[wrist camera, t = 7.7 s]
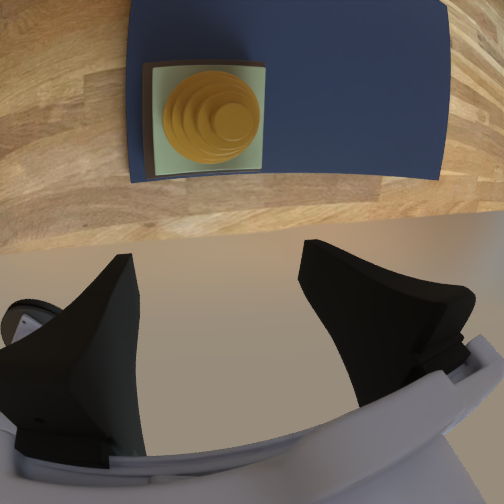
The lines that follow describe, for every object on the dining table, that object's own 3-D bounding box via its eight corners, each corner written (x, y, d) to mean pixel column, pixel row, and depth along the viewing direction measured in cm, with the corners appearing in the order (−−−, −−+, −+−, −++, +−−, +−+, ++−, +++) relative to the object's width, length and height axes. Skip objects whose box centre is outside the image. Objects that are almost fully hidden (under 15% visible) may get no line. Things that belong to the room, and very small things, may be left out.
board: (132, 180, 18) (130, 183, 17) (148, -71, 7) (147, -77, 6) (432, 177, 26) (438, 180, 25) (440, 6, 15) (446, 6, 14)
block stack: (149, 170, 17) (142, 191, 13) (146, 69, 14) (137, 55, 9) (250, 163, 19) (274, 182, 15) (253, 67, 15) (280, 55, 11)
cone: (207, 177, 14) (228, 219, 9) (144, 119, 11) (125, 125, 7) (270, 118, 13) (327, 130, 8) (212, 56, 11) (240, 25, 6)
